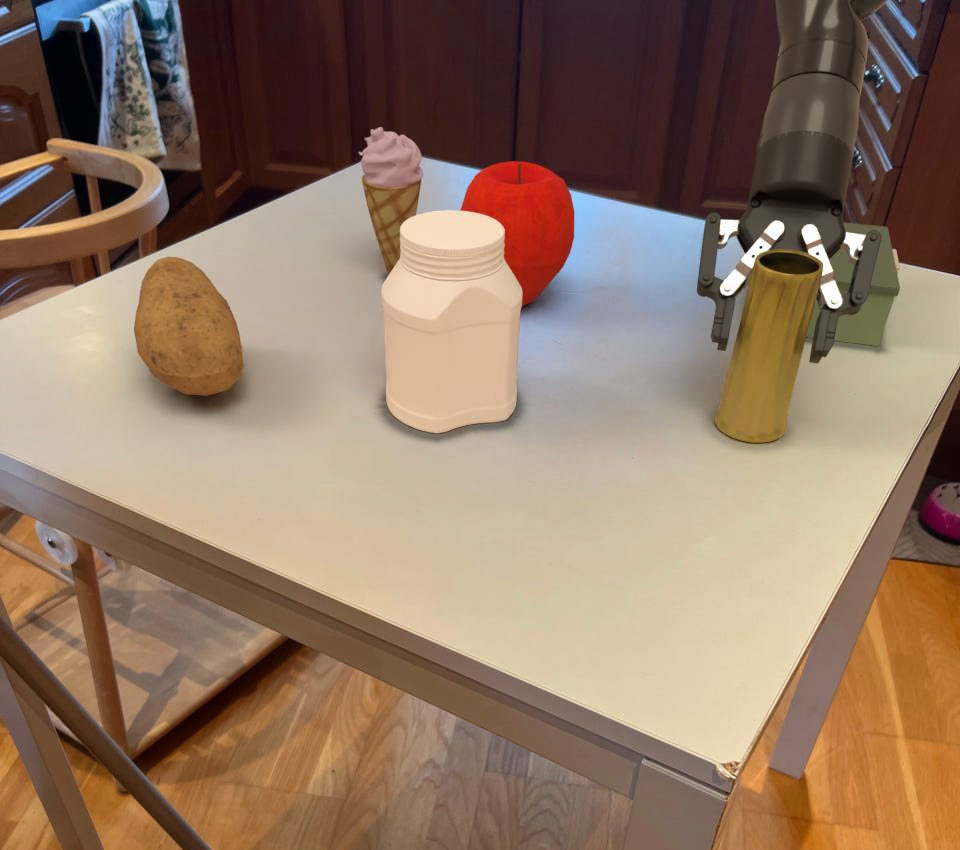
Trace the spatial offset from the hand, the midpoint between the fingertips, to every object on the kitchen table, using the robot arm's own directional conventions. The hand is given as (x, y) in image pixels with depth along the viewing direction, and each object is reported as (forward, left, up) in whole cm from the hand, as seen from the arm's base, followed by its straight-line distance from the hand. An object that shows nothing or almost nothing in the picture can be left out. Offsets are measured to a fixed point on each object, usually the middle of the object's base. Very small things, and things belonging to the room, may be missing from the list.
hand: (768, 353), depth 78 cm
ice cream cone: (+39, -24, -8) cm, 46 cm away
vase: (0, -2, -8) cm, 8 cm away
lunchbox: (-6, -29, -7) cm, 30 cm away
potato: (+49, +4, -8) cm, 50 cm away
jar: (+26, +1, -8) cm, 27 cm away
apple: (+25, -21, -8) cm, 33 cm away
